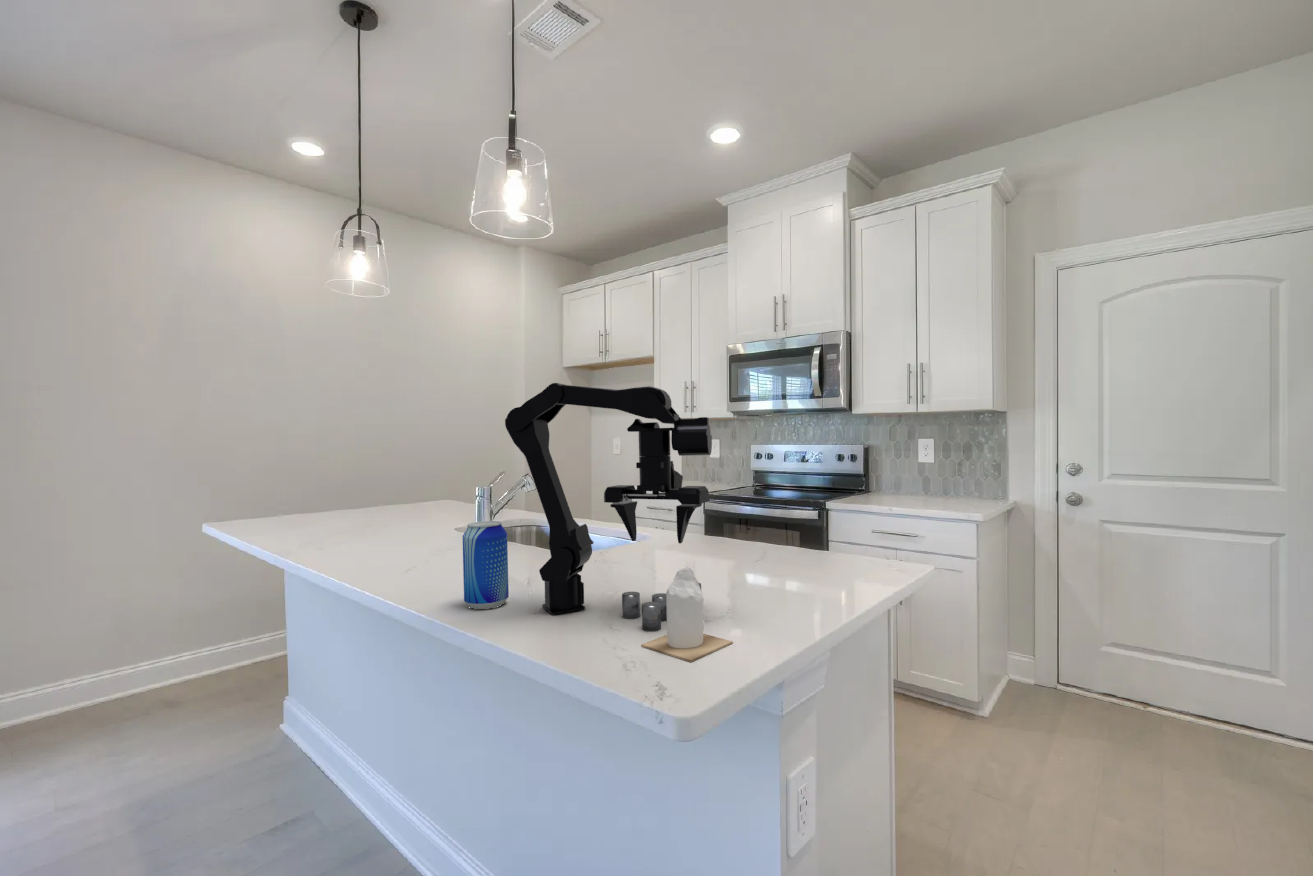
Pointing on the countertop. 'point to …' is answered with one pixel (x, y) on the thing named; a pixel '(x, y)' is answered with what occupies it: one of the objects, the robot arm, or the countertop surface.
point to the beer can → (485, 565)
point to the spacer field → (646, 609)
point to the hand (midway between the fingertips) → (656, 541)
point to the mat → (688, 654)
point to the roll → (684, 610)
